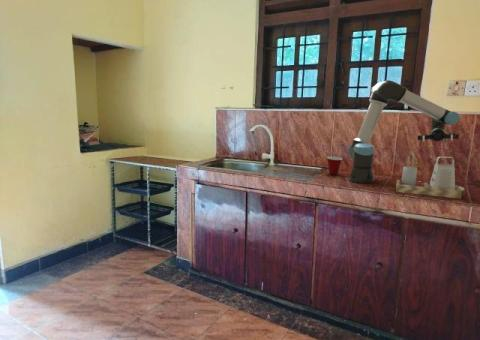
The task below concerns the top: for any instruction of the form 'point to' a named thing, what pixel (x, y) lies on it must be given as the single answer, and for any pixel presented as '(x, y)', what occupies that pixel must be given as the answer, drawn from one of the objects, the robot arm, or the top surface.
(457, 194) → the rack
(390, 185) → the top surface
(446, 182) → the grater
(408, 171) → the utensil crock
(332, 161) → the plastic cup
